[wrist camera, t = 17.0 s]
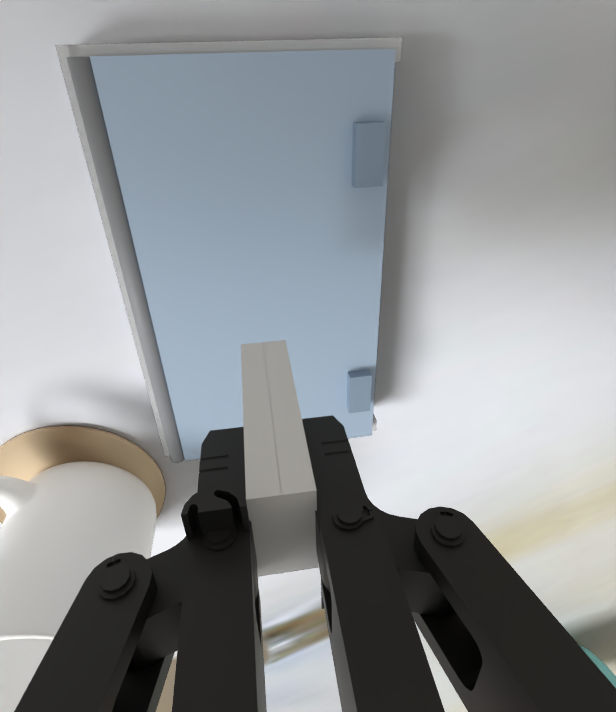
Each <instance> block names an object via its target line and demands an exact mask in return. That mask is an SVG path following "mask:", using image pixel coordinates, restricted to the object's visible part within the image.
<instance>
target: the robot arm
mask: <svg viewBox="0 0 616 712" xmlns="http://www.w3.org/2000/svg"><path fill="white" fill-rule="evenodd" d="M241 367H242V397H243V426H244V427H237V428H228V429H220V430H211V431H209V433H208V435H207V436H206V438H205V439H204V441H203V443H202V444H201V456H200V460H201V461H200V469H199V471H200V473H199V481H198V493H196V494H194V495H193V496H192V497H191V498H190V499H189V500H188V501H187V502H186V504H185V505H184V508H183V510H182V513H181V517H182V521H183V525H184V528H185V532H186V537H185V538H184V539H183V540H182V541H181V542H180V543H178V544H177V545H176V546H174V547H172V548H170V549H169V550H167V551H164V552H162V553H160V554H158V555H155V556H153V557H151V558H148V559H146V558H145V557H144V556H143V555H140V554H137V553H133V552H127V553H119V554H116V555H114V556H111V557H109V558H107V559H105V560H104V561H103V562H101V563H100V564H99V565H97V566H96V567H95V568H94V569H93V570H92V572H91V573H90V574H89V576H88V577H87V578H86V580H85V581H84V583H83V585H82V587H81V589H80V591H79V592H78V594H77V596H76V598H75V600H74V602H73V604H72V605H71V607H70V609H69V611H68V613H67V615H66V616H65V618H64V620H63V622H62V624H61V626H60V628H59V629H58V631H57V633H56V635H55V637H54V639H53V641H52V642H51V644H50V646H49V648H48V650H47V652H46V653H45V655H44V657H43V659H42V661H41V663H40V665H39V666H38V668H37V670H36V672H35V674H34V676H33V678H32V679H31V681H30V683H29V685H28V687H27V689H26V690H25V692H24V694H23V696H22V698H21V700H20V702H19V703H18V705H17V707H16V709H15V711H14V712H155V711H156V709H157V706H158V702H159V699H160V696H161V693H162V690H163V687H164V683H165V680H166V677H167V674H168V671H169V668H170V664H171V662H172V658H173V655H174V652H175V651H177V650H178V652H177V663H176V675H175V684H174V696H173V706H172V712H267V711H266V693H265V676H264V658H263V641H262V624H261V606H260V596H259V589H258V576H265V575H271V574H278V573H285V572H291V571H298V570H304V569H311V568H318V567H319V568H320V574H321V596H322V609H323V608H324V609H325V614H326V620H327V626H328V632H329V638H330V643H331V649H332V655H333V661H334V666H335V672H336V678H337V684H338V690H339V695H340V701H341V707H342V712H445V711H444V708H443V705H442V702H441V699H440V696H439V693H438V690H437V687H436V684H435V681H434V678H433V675H432V672H431V669H430V666H429V663H428V660H427V657H426V654H425V651H424V649H423V646H422V643H421V640H420V637H419V634H418V631H417V628H416V625H415V622H416V624H417V626H418V627H419V629H420V631H421V633H422V634H423V636H424V638H425V639H426V641H427V643H428V644H429V646H430V648H431V649H432V651H433V653H434V655H435V656H436V658H437V660H438V661H439V663H440V665H441V666H442V668H443V670H444V671H445V673H446V675H447V677H448V678H449V680H450V682H451V683H452V685H453V687H454V688H455V690H456V692H457V694H458V695H459V697H460V699H461V700H462V702H463V704H464V705H465V707H466V709H467V710H468V712H616V688H615V687H614V686H613V684H612V683H611V682H610V681H609V680H608V679H607V677H606V676H605V675H604V674H603V673H602V672H601V670H600V669H599V668H598V667H597V666H596V665H595V663H594V662H593V661H592V660H591V659H590V658H589V656H588V655H587V654H586V653H585V652H584V651H583V649H582V648H581V647H580V646H579V645H578V644H577V642H576V641H575V640H574V639H573V638H572V637H571V635H570V634H569V633H568V632H567V631H566V630H565V628H564V627H563V626H562V625H561V624H560V623H559V621H558V620H557V619H556V618H555V617H554V616H553V614H552V613H551V612H550V611H549V610H548V609H547V607H546V606H545V605H544V604H543V603H542V602H541V600H540V599H539V598H538V597H537V596H536V595H535V593H534V592H533V591H532V590H531V589H530V588H529V587H528V585H527V584H526V583H525V582H524V581H523V580H522V578H521V577H520V576H519V575H518V574H517V573H516V571H515V570H514V569H513V568H512V567H511V566H510V564H509V563H508V562H507V561H506V560H505V559H504V557H503V556H502V555H501V554H500V553H499V552H498V550H497V549H496V548H495V547H494V546H493V545H492V543H491V542H490V541H489V540H488V539H487V538H486V536H485V535H484V534H483V533H482V532H481V531H480V529H479V528H478V527H477V526H476V525H475V524H474V522H473V521H472V520H470V519H469V518H468V517H467V516H466V515H465V514H463V513H461V512H459V511H457V510H454V509H452V508H446V507H435V508H430V509H428V510H426V511H425V512H423V513H422V514H421V515H420V517H419V518H418V519H412V518H405V517H399V516H394V515H390V514H388V513H385V512H383V511H381V510H380V509H378V508H377V507H376V506H374V505H373V504H372V503H371V501H370V500H369V499H368V497H367V495H366V493H365V490H364V487H363V484H362V481H361V478H360V475H359V472H358V469H357V466H356V462H355V459H354V456H353V453H352V450H351V447H350V444H349V442H348V438H347V435H346V432H345V428H344V426H343V425H342V424H341V423H340V422H339V421H338V420H337V419H336V418H335V417H334V416H333V415H331V416H322V417H314V418H305V419H302V418H301V413H300V408H299V403H298V398H297V393H296V389H295V384H294V379H293V374H292V369H291V364H290V360H289V355H288V350H287V345H286V340H281V341H270V342H260V343H250V344H241ZM318 563H319V565H318ZM414 621H415V622H414Z"/></svg>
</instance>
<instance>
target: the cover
mask: <svg viewBox="0 0 616 712" xmlns="http://www.w3.org/2000/svg"><path fill="white" fill-rule="evenodd" d="M395 54H396V49H364V50H324V51H284V52H244V53H205V54H165V55H125V56H90V57H66V58H67V62H68V66H69V70H70V73H71V77H72V81H73V85H74V89H75V93H76V97H77V100H78V104H79V108H80V112H81V116H82V120H83V124H84V127H85V131H86V135H87V139H88V143H89V147H90V151H91V154H92V158H93V162H94V166H95V170H96V174H97V178H98V181H99V185H100V189H101V193H102V197H103V201H104V205H105V208H106V212H107V216H108V220H109V224H110V228H111V232H112V235H113V239H114V243H115V247H116V251H117V255H118V258H119V262H120V266H121V270H122V274H123V278H124V282H125V285H126V289H127V293H128V297H129V301H130V305H131V309H132V312H133V316H134V320H135V324H136V328H137V332H138V336H139V339H140V343H141V347H142V351H143V355H144V359H145V363H146V366H147V370H148V374H149V378H150V382H151V386H152V390H153V393H154V397H155V401H156V405H157V409H158V413H159V417H160V420H161V424H162V428H163V432H164V436H165V440H166V443H167V447H168V451H169V455H170V459H171V461H172V462H175V463H178V462H182V461H183V460H185V461H188V460H196V459H200V456H201V444H202V443H203V441H204V439H205V438H206V436H207V435H208V433H209V431H211V430H220V429H228V428H237V427H244V426H243V397H242V367H241V344H250V343H260V342H270V341H281V340H286V345H287V350H288V355H289V360H290V364H291V369H292V374H293V379H294V384H295V389H296V393H297V398H298V403H299V408H300V413H301V418H302V419H305V418H314V417H322V416H331V415H333V416H334V417H335V418H336V419H337V420H338V421H339V422H340V423H341V424H342V425H343V426H344V428H345V432H346V435H347V438H355V437H362V436H369V435H372V425H373V409H374V393H375V377H376V361H377V344H378V328H379V312H380V296H381V280H382V264H383V247H384V231H385V215H386V199H387V183H388V167H389V151H390V134H391V118H392V102H393V86H394V70H395Z"/></svg>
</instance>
